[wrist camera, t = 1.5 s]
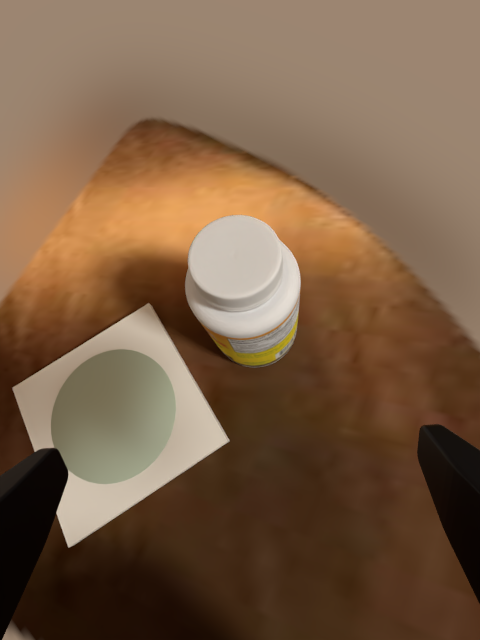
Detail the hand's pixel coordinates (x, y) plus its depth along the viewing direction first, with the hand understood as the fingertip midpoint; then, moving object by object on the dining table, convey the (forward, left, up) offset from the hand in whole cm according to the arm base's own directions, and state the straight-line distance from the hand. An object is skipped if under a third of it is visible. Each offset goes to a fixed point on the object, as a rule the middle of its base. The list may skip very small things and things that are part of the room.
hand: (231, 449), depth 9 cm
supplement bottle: (+6, +5, -14) cm, 16 cm away
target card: (-4, +9, -13) cm, 17 cm away
